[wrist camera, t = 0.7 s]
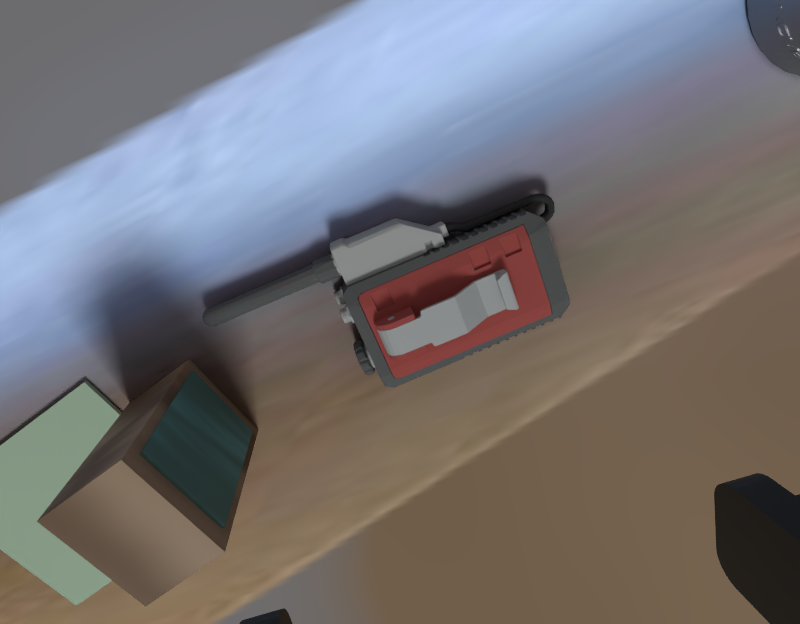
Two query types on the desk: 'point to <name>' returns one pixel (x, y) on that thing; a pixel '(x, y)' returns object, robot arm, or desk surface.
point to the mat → (51, 488)
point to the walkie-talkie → (432, 288)
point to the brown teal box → (158, 486)
